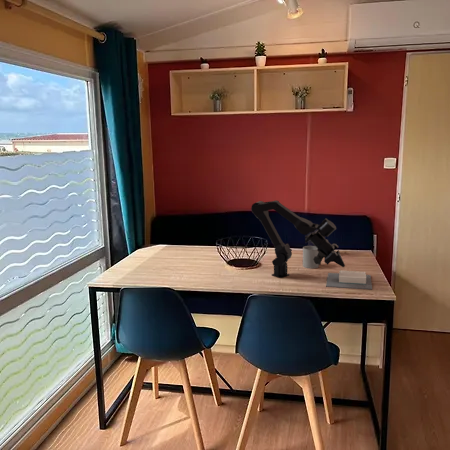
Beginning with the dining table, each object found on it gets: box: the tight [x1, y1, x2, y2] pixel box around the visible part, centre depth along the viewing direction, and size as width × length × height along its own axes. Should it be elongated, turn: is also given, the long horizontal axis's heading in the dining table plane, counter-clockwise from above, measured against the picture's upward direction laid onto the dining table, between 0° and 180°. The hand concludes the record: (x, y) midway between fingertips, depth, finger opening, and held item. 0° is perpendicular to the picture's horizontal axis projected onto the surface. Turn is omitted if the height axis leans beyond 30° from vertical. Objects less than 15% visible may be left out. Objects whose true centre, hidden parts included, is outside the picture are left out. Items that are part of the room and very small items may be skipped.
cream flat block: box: [338, 270, 367, 285], centre depth 214 cm, size 3×10×12 cm
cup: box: [302, 245, 320, 270], centre depth 239 cm, size 8×8×10 cm
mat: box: [325, 272, 373, 291], centre depth 215 cm, size 20×20×1 cm
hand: (344, 266), depth 214 cm, fingers closed
